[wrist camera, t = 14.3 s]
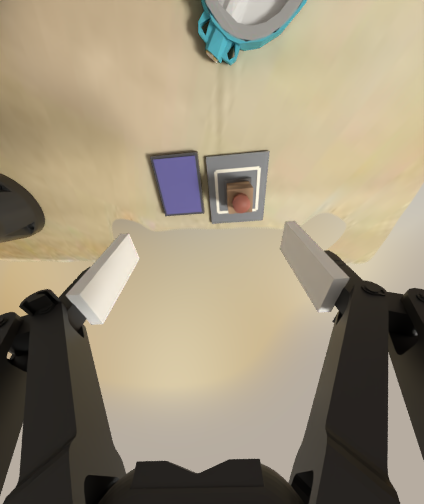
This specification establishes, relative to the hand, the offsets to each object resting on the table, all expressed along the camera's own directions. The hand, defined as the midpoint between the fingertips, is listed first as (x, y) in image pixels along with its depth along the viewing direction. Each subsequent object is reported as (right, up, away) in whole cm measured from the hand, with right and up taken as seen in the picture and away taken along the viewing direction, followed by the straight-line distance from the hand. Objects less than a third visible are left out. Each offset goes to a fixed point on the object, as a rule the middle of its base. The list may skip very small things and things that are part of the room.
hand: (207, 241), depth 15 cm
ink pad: (-6, +13, +21) cm, 26 cm away
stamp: (+6, +12, +21) cm, 25 cm away
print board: (+6, +12, +22) cm, 26 cm away
